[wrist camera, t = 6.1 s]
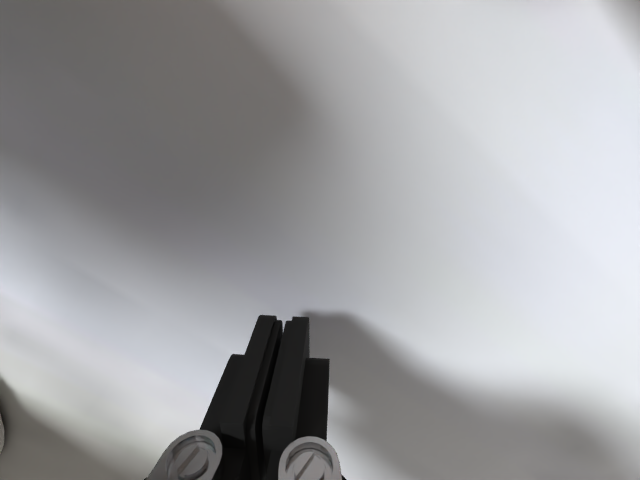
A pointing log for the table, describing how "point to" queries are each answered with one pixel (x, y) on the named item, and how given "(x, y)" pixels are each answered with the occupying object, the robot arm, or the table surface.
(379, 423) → the table surface
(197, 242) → the table surface
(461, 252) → the table surface
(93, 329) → the table surface
